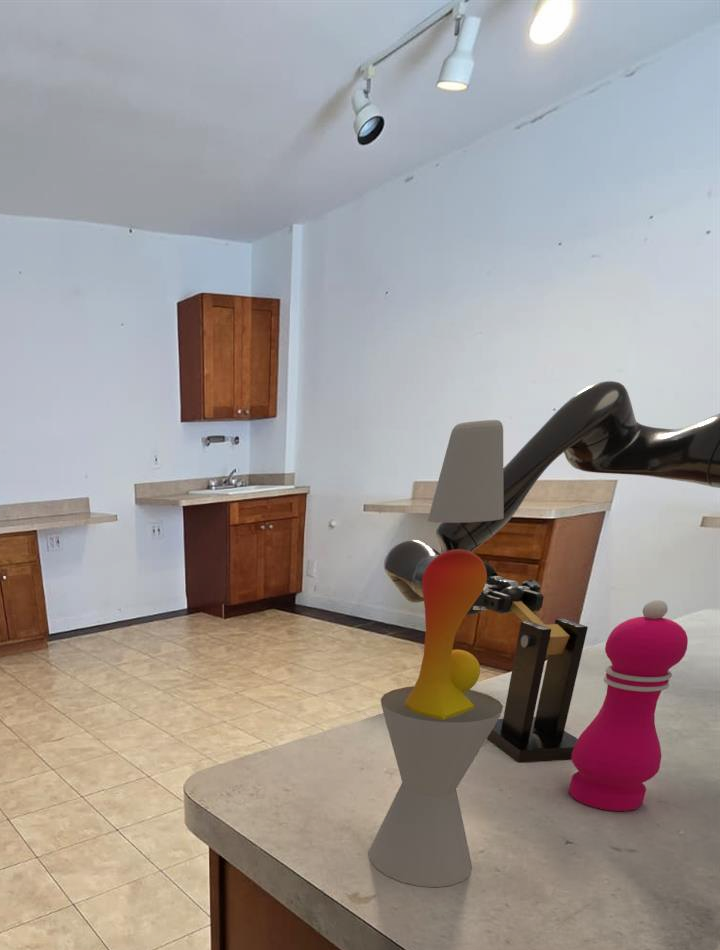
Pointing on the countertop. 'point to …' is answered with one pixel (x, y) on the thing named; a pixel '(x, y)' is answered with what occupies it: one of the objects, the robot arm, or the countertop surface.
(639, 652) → the pepper mill
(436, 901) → the countertop surface
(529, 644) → the switch bracket
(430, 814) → the lava lamp
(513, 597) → the switch lever
